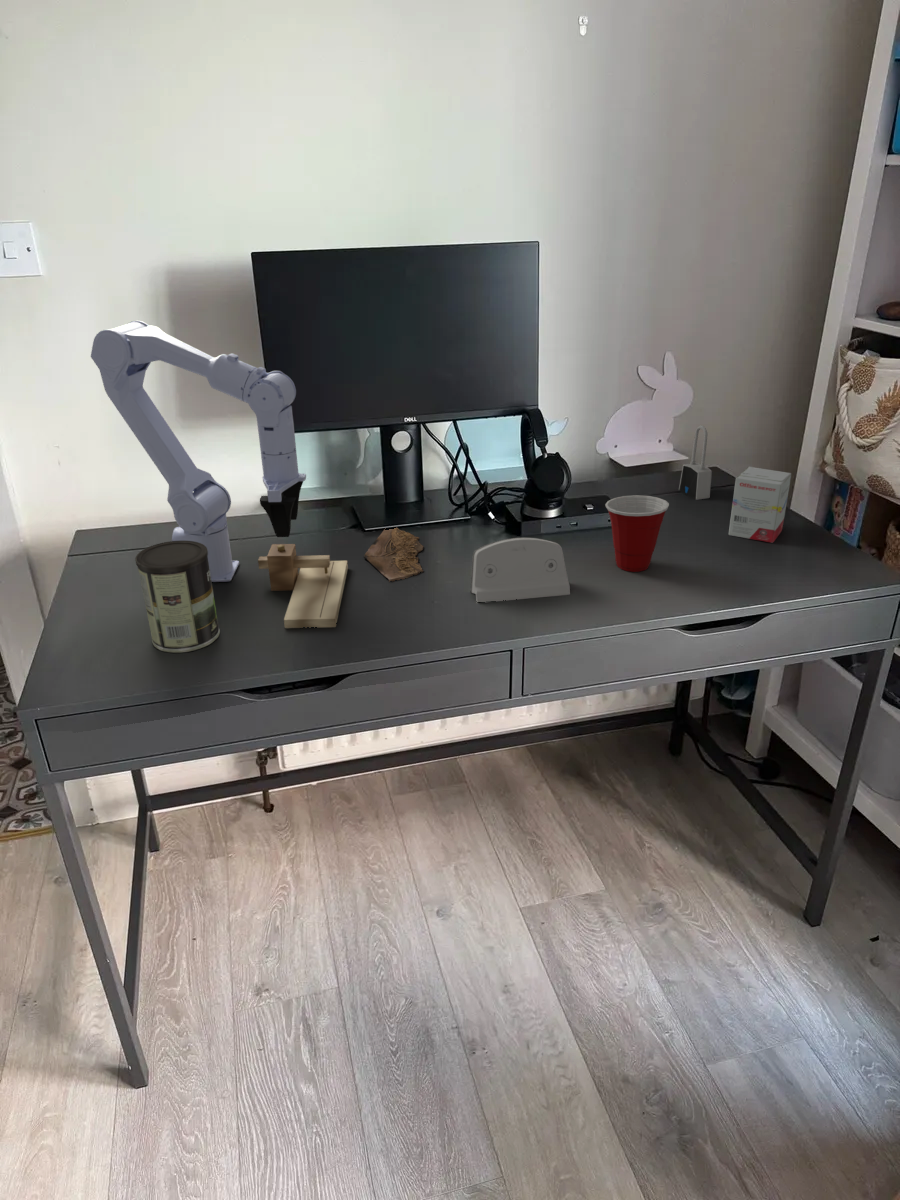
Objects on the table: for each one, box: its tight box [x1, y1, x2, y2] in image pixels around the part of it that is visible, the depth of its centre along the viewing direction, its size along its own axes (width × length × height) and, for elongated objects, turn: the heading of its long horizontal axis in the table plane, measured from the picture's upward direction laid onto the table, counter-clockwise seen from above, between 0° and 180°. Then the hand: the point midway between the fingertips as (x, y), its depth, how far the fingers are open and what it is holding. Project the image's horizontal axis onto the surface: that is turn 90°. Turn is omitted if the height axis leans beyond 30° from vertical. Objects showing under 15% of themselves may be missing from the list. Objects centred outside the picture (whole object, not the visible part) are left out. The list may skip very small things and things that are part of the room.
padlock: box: [678, 425, 713, 501], centre depth 184 cm, size 7×4×15 cm, turn 20°
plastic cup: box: [604, 494, 670, 573], centre depth 153 cm, size 11×11×12 cm
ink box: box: [728, 466, 792, 544], centre depth 165 cm, size 9×9×12 cm
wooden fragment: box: [363, 527, 424, 583], centre depth 162 cm, size 26×11×1 cm, turn 2°
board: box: [283, 560, 349, 629], centre depth 145 cm, size 8×22×2 cm, turn 1°
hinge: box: [469, 537, 571, 603], centre depth 146 cm, size 17×5×10 cm, turn 100°
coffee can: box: [134, 540, 221, 654], centre depth 131 cm, size 10×10×14 cm
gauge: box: [257, 543, 331, 592], centre depth 149 cm, size 12×5×7 cm, turn 91°
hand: (286, 527), depth 147 cm, fingers open, 7 cm apart
